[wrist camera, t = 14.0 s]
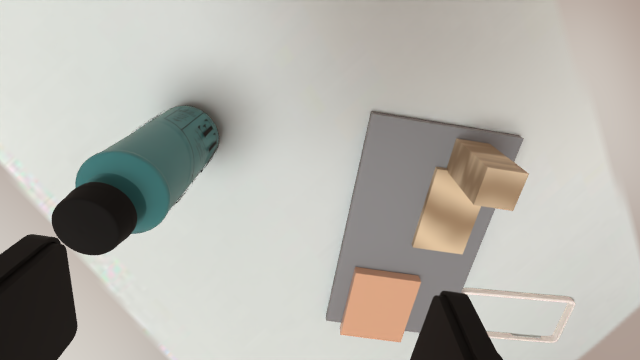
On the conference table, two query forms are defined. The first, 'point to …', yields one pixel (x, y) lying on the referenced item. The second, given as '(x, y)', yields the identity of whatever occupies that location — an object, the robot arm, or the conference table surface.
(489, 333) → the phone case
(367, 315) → the tile
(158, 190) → the beverage bottle
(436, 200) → the stepped wooden block
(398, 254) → the slate board
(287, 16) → the conference table surface
